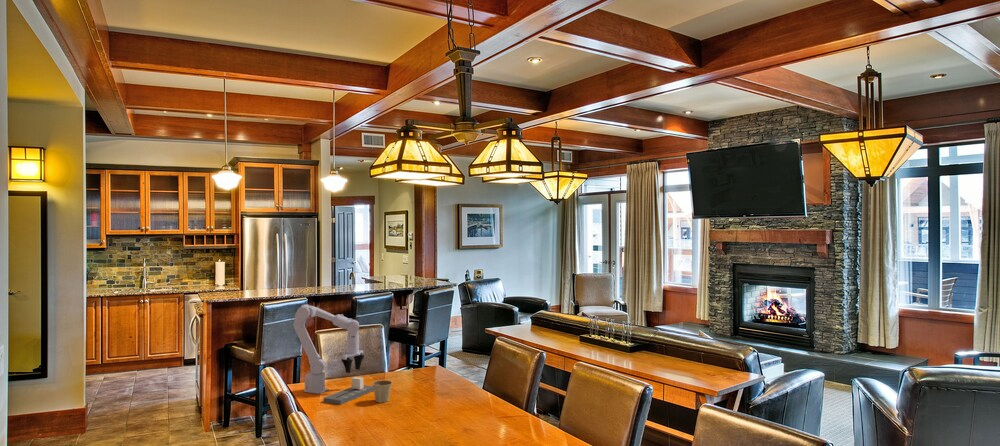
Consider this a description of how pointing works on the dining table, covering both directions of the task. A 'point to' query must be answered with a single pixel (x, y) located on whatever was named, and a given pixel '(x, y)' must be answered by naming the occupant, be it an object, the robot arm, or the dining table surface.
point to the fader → (357, 383)
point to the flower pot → (382, 390)
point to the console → (347, 395)
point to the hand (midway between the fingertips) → (352, 370)
